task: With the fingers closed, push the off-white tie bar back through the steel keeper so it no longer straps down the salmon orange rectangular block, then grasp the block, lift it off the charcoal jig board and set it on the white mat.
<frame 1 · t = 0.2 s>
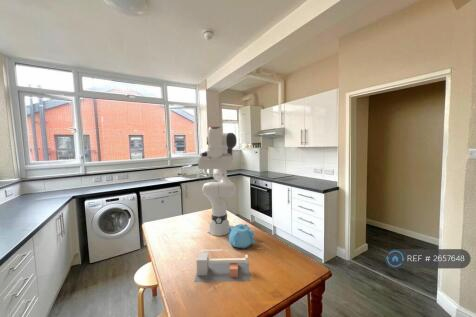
hand: (215, 176, 115), 48 cm above the table, fingers open, 8 cm apart
salmon orange rectangular block: (233, 270, 99), point 1 cm above the table, touching jig board
tie bar: (224, 259, 99), point 7 cm above the table, slide at 0.0 cm
decorative pot: (241, 244, 128), on the table
jig board: (218, 272, 99), on the table
white mat: (210, 256, 114), on the table
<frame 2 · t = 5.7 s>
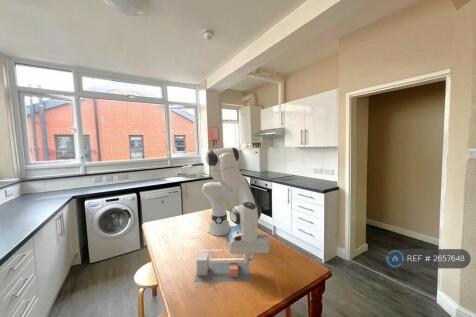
hand: (249, 260, 99), 6 cm above the table, fingers closed
tie bar: (222, 259, 99), point 7 cm above the table, slide at 1.0 cm, touching gripper
everything else where it was.
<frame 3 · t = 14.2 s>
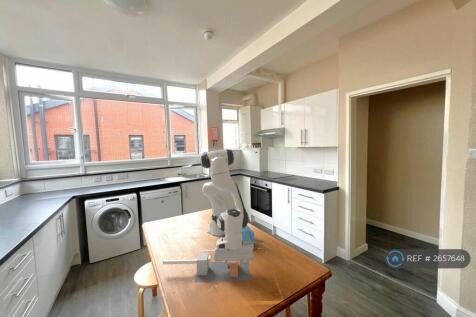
hand: (233, 268, 99), 2 cm above the table, fingers closed on salmon orange rectangular block, 4 cm apart
salmon orange rectangular block: (233, 270, 99), point 1 cm above the table, touching gripper, jig board
tie bar: (186, 260, 98), point 7 cm above the table, slide at 19.3 cm
everything else where it was.
when the fingers open (3 cm above the table, at t = 21.5 s): salmon orange rectangular block drops 1 cm, resting on white mat.
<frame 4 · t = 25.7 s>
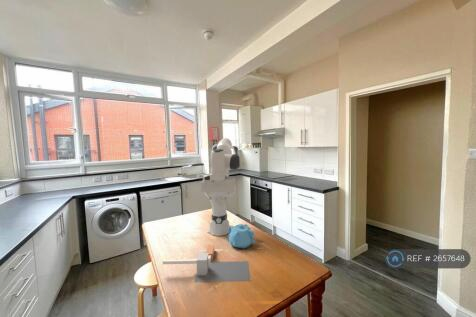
hand: (218, 199, 113), 34 cm above the table, fingers open, 8 cm apart
salmon orange rectangular block: (210, 255, 114), point 1 cm above the table, touching white mat
everything else where it was.
at the end: tie bar slide at 19.3 cm; salmon orange rectangular block inside the target area (0.1 cm from its centre), point 0.6 cm above the table; the gripper is holding nothing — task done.
